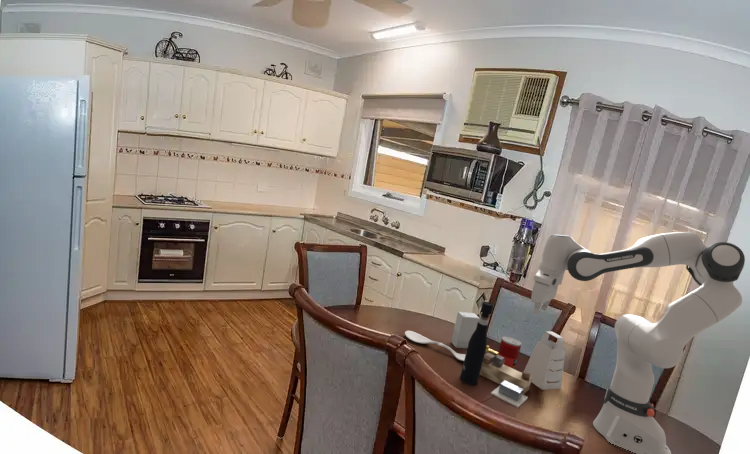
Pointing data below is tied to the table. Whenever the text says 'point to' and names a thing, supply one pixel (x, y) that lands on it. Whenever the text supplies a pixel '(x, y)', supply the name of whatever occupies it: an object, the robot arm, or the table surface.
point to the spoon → (424, 340)
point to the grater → (547, 362)
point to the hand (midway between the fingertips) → (540, 311)
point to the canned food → (509, 351)
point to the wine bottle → (476, 348)
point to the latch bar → (491, 351)
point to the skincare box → (464, 329)
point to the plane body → (504, 372)
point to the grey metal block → (510, 390)
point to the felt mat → (509, 400)
